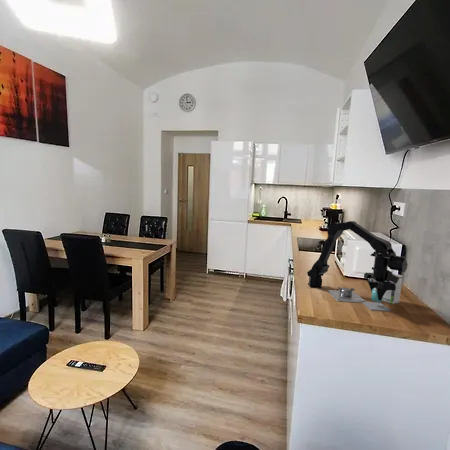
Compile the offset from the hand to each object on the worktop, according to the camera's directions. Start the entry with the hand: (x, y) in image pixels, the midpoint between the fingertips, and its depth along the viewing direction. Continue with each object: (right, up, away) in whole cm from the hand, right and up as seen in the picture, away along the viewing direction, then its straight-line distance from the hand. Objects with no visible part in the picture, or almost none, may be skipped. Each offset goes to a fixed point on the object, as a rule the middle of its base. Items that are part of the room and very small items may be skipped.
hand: (376, 298), depth 137 cm
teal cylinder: (0, -1, 0) cm, 1 cm away
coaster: (0, -4, 0) cm, 5 cm away
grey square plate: (-10, -3, +13) cm, 16 cm away
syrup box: (+12, -4, +9) cm, 16 cm away
